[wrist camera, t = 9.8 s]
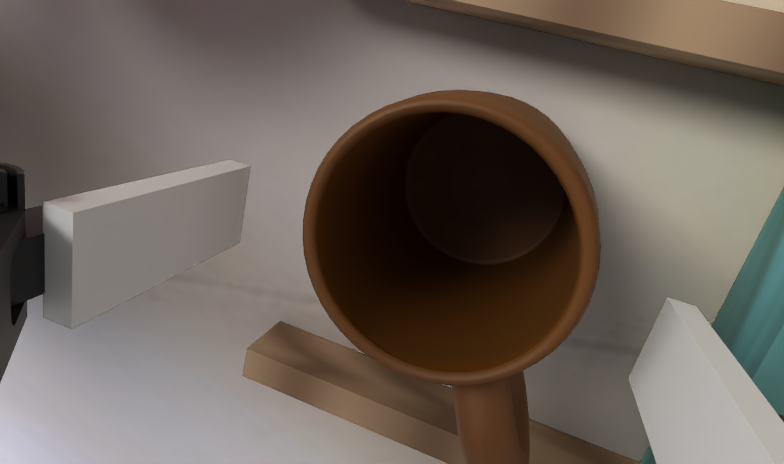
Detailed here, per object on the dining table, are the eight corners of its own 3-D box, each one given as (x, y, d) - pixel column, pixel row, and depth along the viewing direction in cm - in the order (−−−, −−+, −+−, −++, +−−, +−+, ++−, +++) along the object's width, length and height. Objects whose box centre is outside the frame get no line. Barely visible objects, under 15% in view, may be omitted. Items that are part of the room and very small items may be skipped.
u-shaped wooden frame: (275, 345, 26) (230, 387, 22) (349, -54, 20) (303, -90, 16) (673, 507, 22) (700, 592, 18) (926, 64, 15) (1047, 53, 12)
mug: (609, 357, 21) (656, 545, 12) (437, 369, 23) (373, 530, 15) (562, 70, 18) (579, 44, 10) (377, 118, 21) (259, 131, 12)
